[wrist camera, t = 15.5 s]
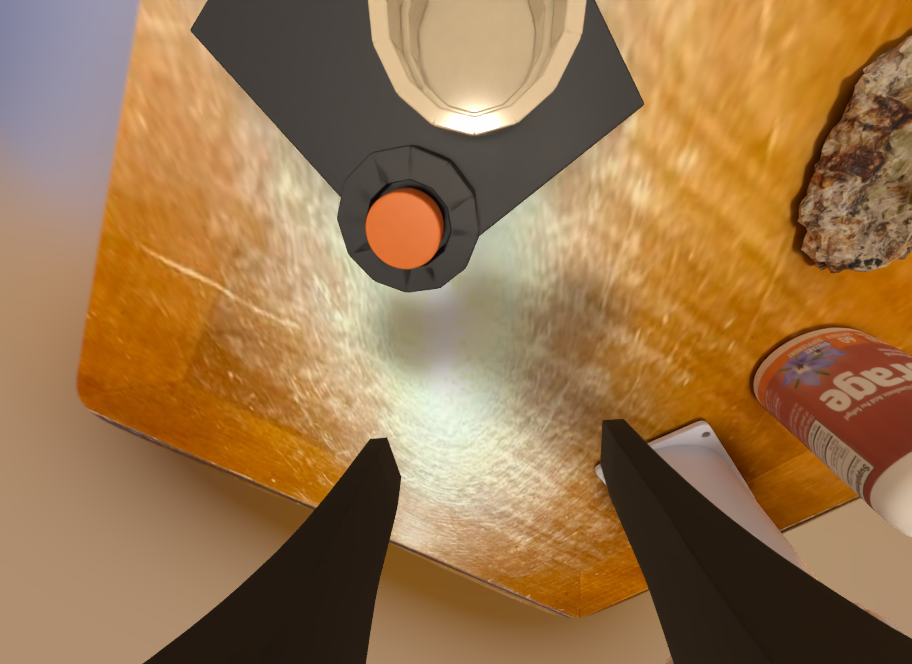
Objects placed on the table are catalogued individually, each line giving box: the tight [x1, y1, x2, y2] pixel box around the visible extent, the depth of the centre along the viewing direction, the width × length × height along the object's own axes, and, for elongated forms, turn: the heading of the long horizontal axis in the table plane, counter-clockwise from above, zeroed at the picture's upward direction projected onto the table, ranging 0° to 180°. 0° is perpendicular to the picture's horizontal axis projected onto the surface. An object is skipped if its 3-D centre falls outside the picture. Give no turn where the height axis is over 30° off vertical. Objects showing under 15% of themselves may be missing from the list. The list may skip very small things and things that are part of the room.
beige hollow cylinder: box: [368, 0, 587, 138], centre depth 11 cm, size 6×6×4 cm
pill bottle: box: [754, 328, 912, 537], centre depth 15 cm, size 6×6×11 cm
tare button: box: [365, 188, 444, 269], centre depth 14 cm, size 3×3×2 cm
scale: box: [191, 0, 644, 292], centre depth 13 cm, size 14×13×3 cm
